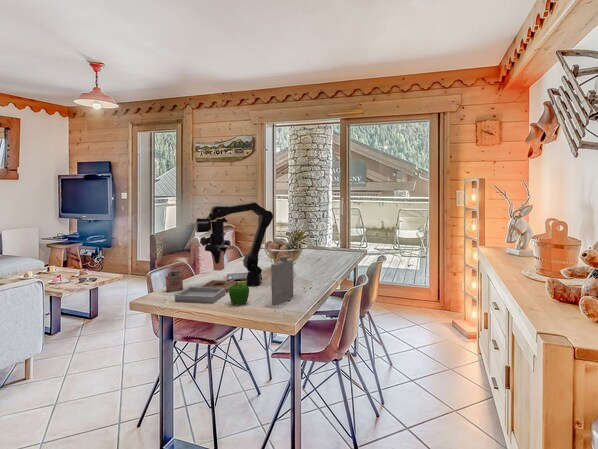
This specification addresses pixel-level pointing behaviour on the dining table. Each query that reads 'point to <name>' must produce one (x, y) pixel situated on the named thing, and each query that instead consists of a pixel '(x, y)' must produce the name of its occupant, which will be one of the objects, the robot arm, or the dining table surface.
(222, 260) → the brown tall block
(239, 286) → the bell pepper
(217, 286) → the socket block
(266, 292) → the dining table surface
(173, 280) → the lighter
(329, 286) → the dining table surface
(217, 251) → the robot arm
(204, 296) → the tray
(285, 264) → the hip flask
